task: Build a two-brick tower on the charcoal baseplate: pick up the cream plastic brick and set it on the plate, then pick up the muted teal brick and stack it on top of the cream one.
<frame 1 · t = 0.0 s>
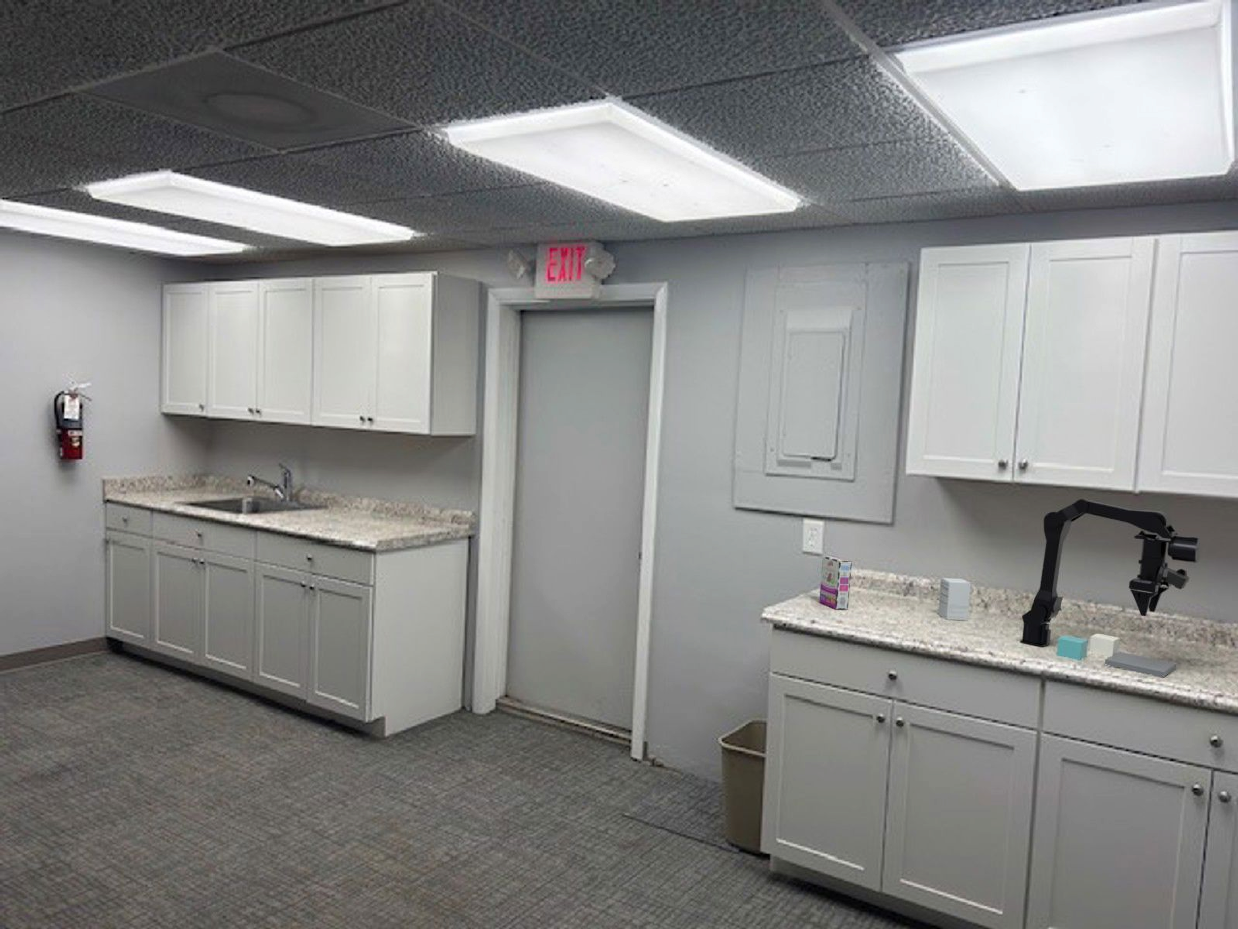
hand: (1147, 613, 240), 15 cm above the table, tool pointing down, fingers open, 9 cm apart
supplement box: (952, 618, 290), on the table
teal brick: (1071, 656, 248), on the table
baseplate: (1140, 667, 241), on the table
candy bar box: (833, 606, 297), on the table
cream brick: (1103, 654, 253), on the table
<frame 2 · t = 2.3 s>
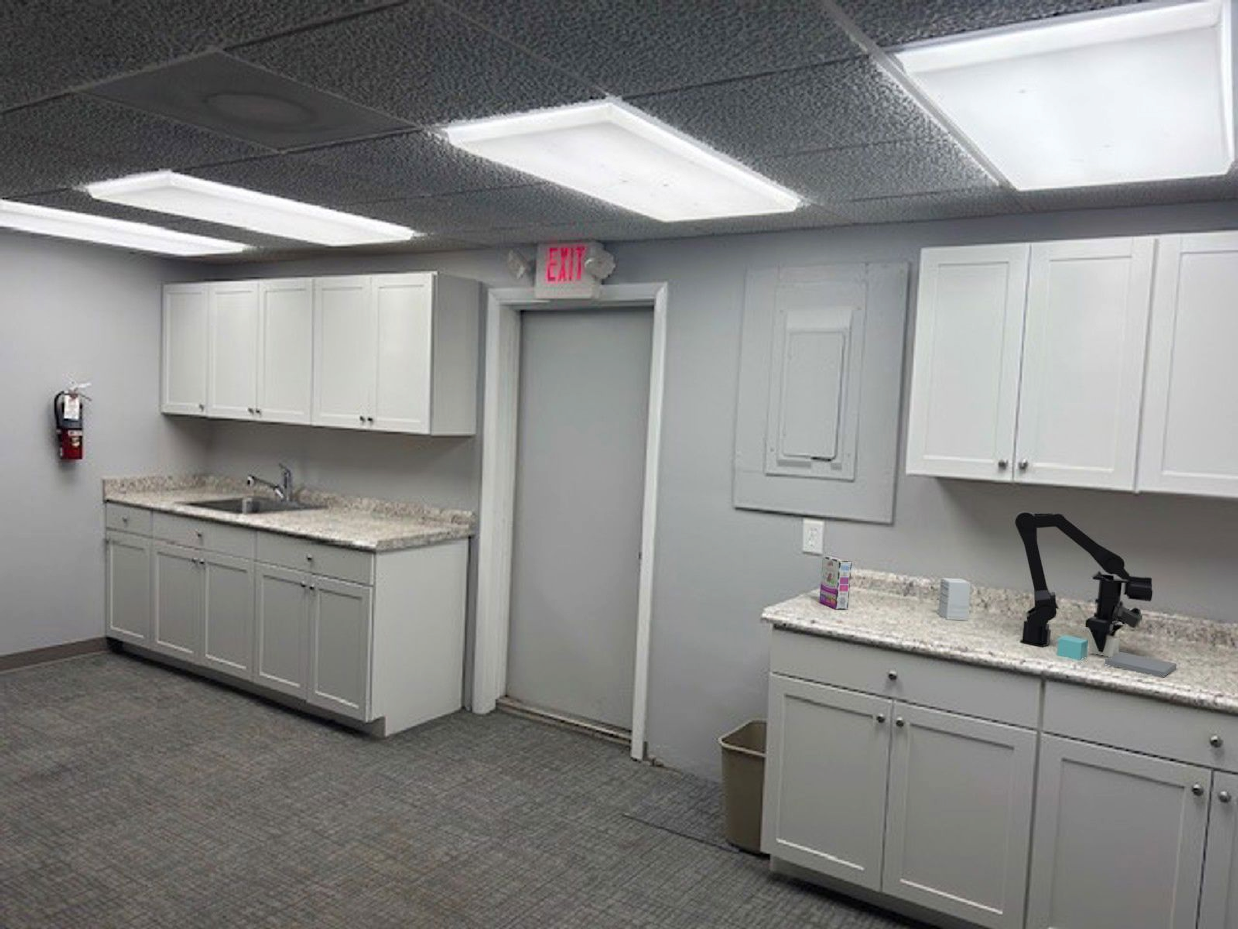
hand: (1104, 650, 253), 1 cm above the table, tool pointing down, fingers closed on cream brick, 6 cm apart
cream brick: (1103, 653, 253), on the table, touching gripper
everything else where it was.
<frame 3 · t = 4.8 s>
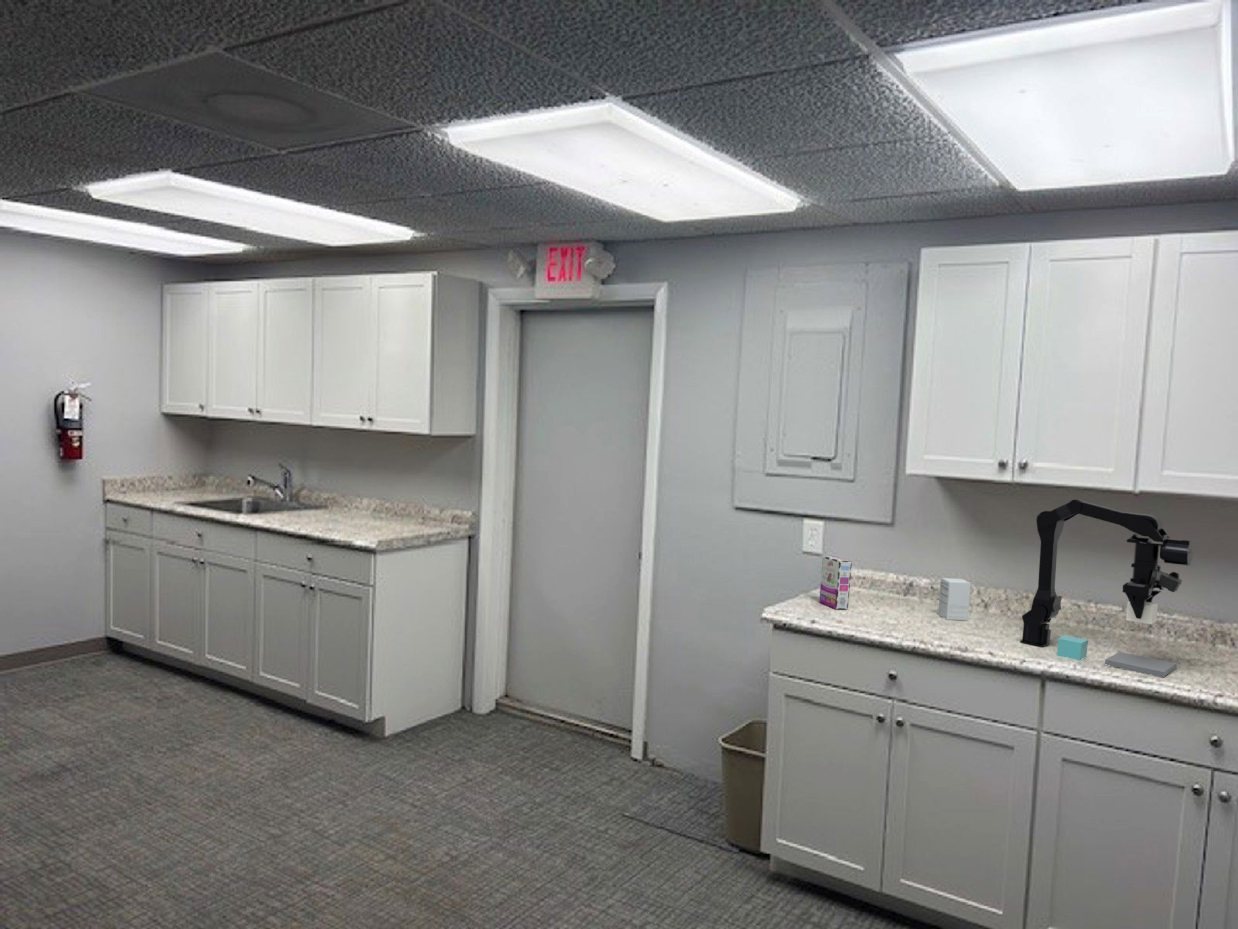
hand: (1141, 617, 242), 13 cm above the table, tool pointing down, fingers closed on cream brick, 6 cm apart
cream brick: (1141, 620, 242), point 12 cm above the table, touching gripper
everything else where it was.
when the fingers open (3 cm above the table, at t = 7.2 s): cream brick stays where it is, resting on baseplate.
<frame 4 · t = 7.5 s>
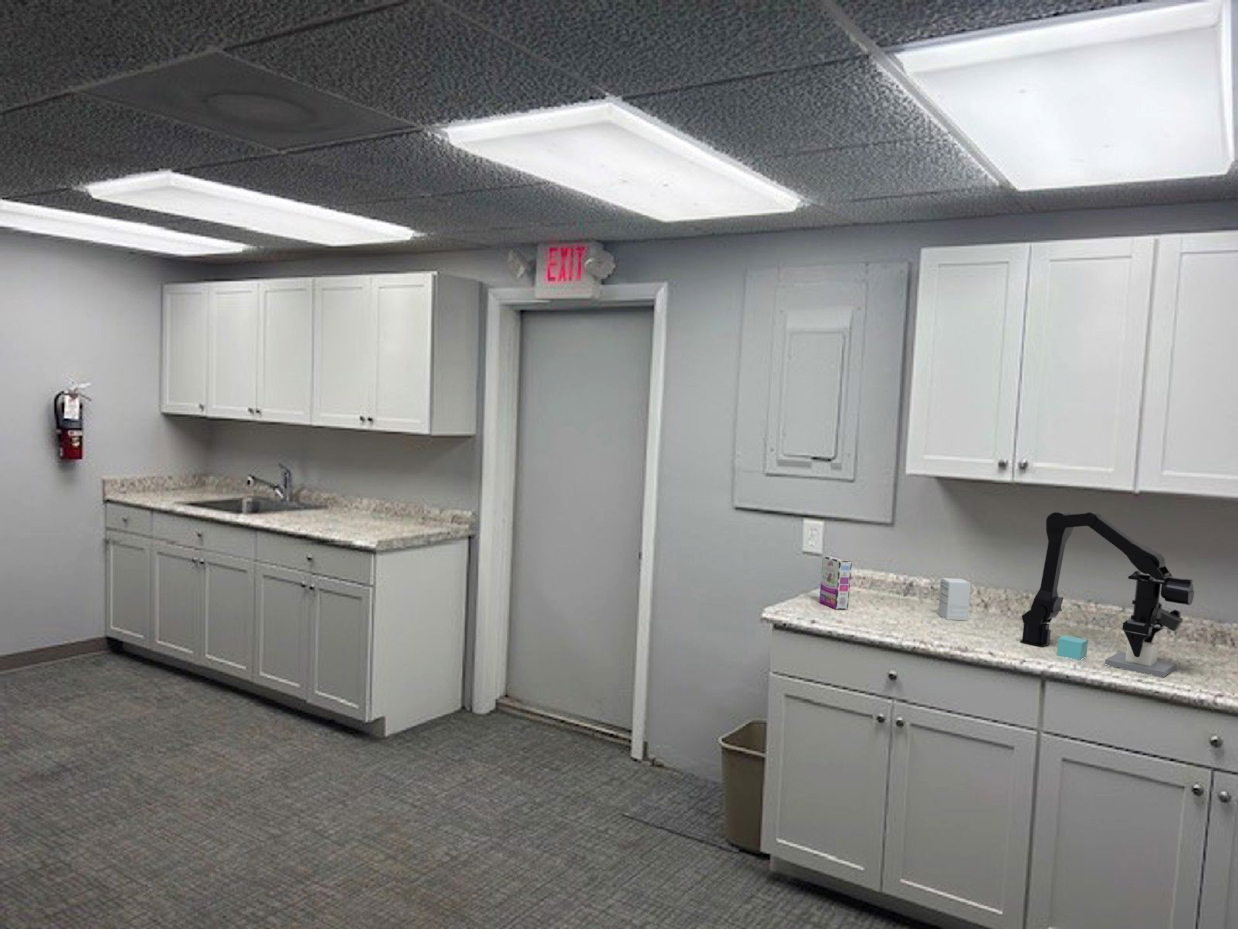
hand: (1141, 654, 241), 3 cm above the table, tool pointing down, fingers open, 9 cm apart
cream brick: (1140, 661, 241), point 1 cm above the table, touching baseplate
everything else where it was.
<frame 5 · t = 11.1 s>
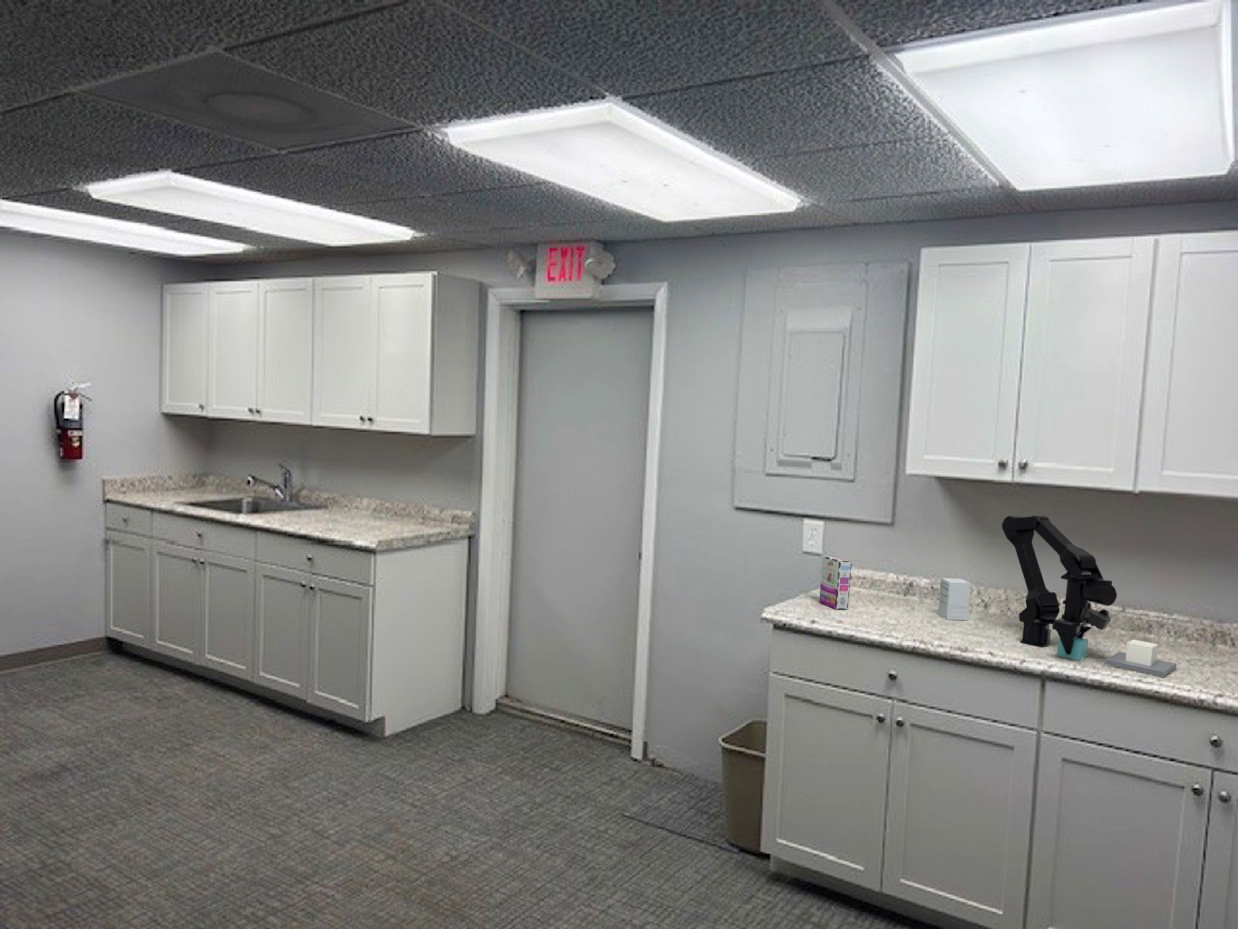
hand: (1072, 652, 248), 1 cm above the table, tool pointing down, fingers closed on teal brick, 6 cm apart
teal brick: (1071, 656, 248), on the table, touching gripper
everything else where it was.
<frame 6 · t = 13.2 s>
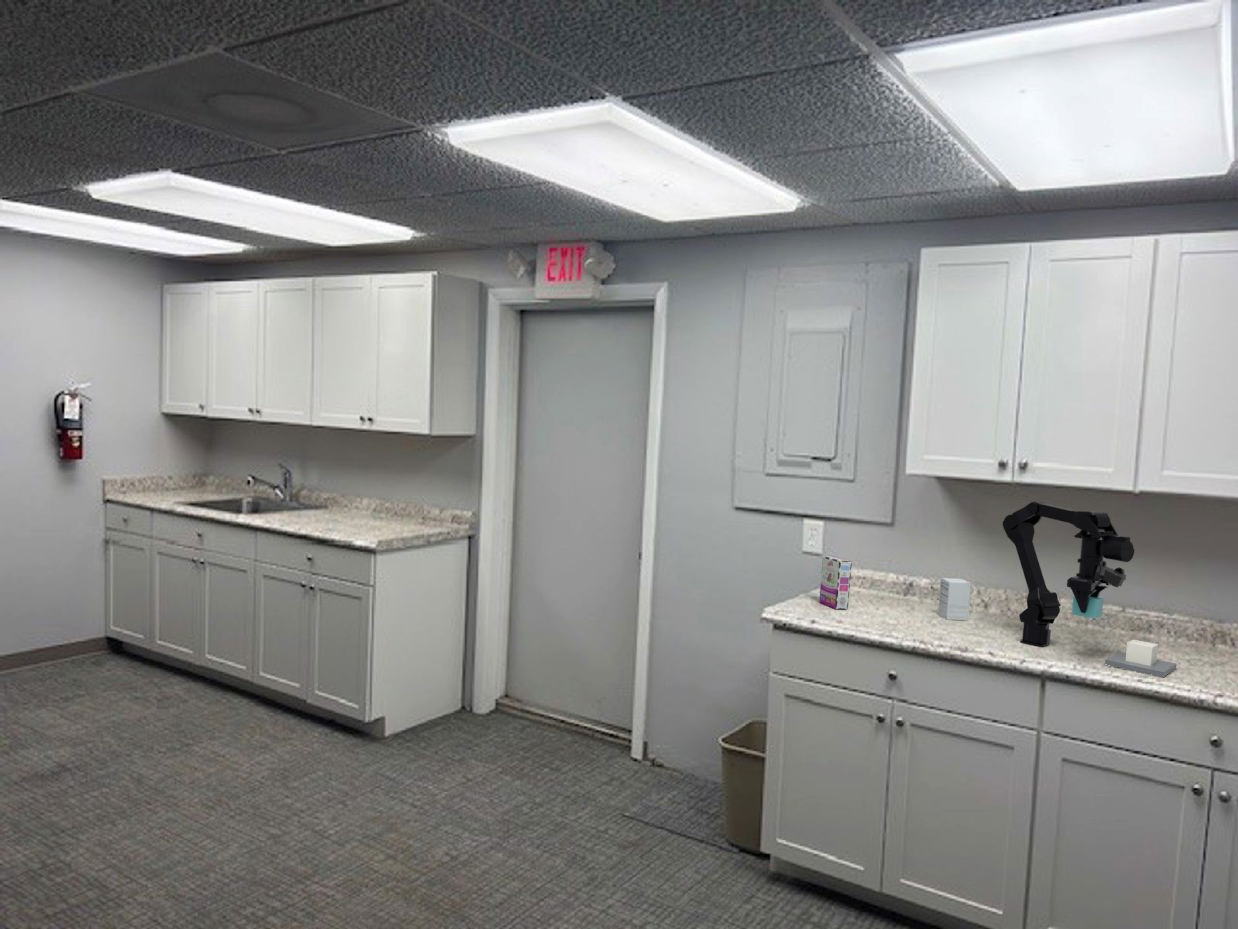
hand: (1087, 611, 246), 13 cm above the table, tool pointing down, fingers closed on teal brick, 6 cm apart
teal brick: (1086, 615, 246), point 12 cm above the table, touching gripper
everything else where it was.
when the fingers open (8 cm above the table, at t = 15.5 s): teal brick stays where it is, resting on cream brick.
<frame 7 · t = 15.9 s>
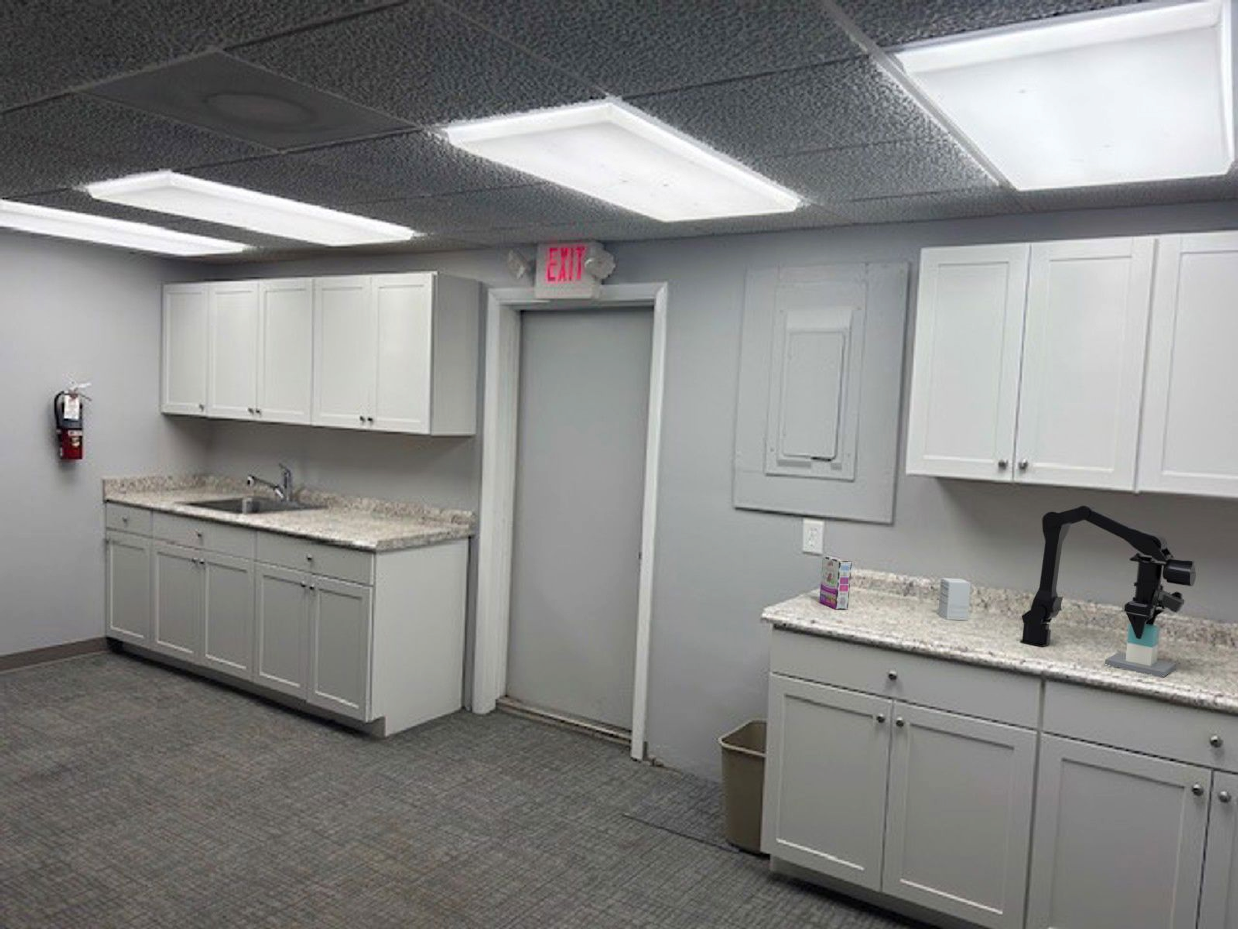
hand: (1143, 636, 240), 8 cm above the table, tool pointing down, fingers open, 9 cm apart
teal brick: (1142, 643, 240), point 6 cm above the table, touching cream brick
cream brick: (1140, 661, 241), point 1 cm above the table, touching baseplate, teal brick
everything else where it was.
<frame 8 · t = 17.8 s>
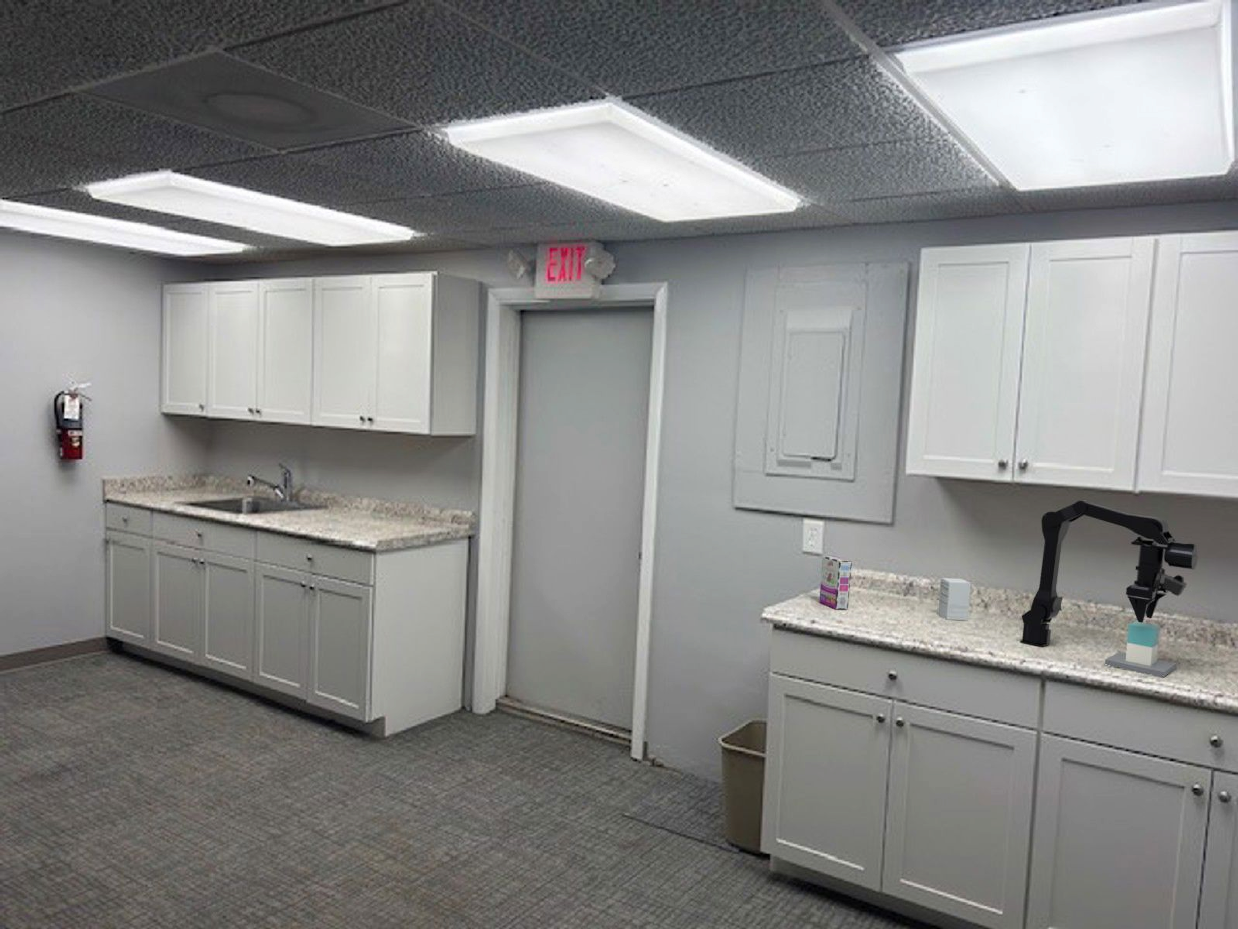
hand: (1144, 620, 240), 13 cm above the table, tool pointing down, fingers open, 9 cm apart
nothing on the table moved.
at the end: cream brick 0.0 cm off-centre on the baseplate, point 1.5 cm above the baseplate's base; teal brick 0.0 cm off-centre on the baseplate, point 6.5 cm above the baseplate's base; teal brick tilted 0° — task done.
